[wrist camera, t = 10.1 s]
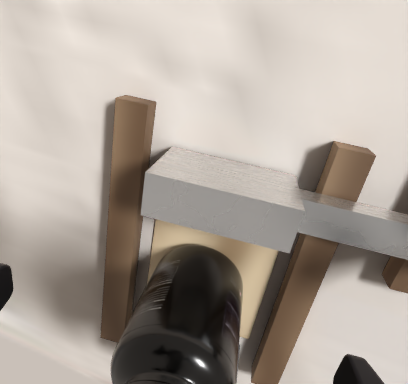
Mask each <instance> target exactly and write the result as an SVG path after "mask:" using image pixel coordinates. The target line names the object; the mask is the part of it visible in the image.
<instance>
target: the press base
mask: <svg viewBox="0 0 408 384" xmlns="http://www.w3.org/2000/svg"><path fill="white" fill-rule="evenodd" d="M155 108H156V102H155V101H150V100H146V99H141V98H137V97H132V96H128V95H124V96H121V97H117V98H116V99H115V115H114V131H113V147H112V163H111V179H110V195H109V211H108V227H107V243H106V259H105V275H104V291H103V307H102V323H101V338H104V339H107V340H111V341H114V342H117V343H118V342H119V340H120V338H121V336H122V334H123V332H124V330H125V328H126V326H127V324H128V322H129V320H130V318H131V316H132V307H133V299H134V290H135V281H136V273H137V264H138V255H139V247H140V238H141V229H142V221H143V216H142V215H141V206H142V198H143V189H144V180H145V172H146V171H147V170H148V169H149V160H150V151H151V143H152V134H153V126H154V117H155ZM375 157H376V155H375V154H373V153H372V152H371V151H370V150H369V149H367V148H363V147H358V146H354V145H349V144H345V143H340V142H336V141H334V142H333V144H332V147H331V150H330V153H329V155H328V158H327V161H326V164H325V166H324V169H323V172H322V175H321V177H320V180H319V183H318V186H317V188H316V191H315V193H319V194H324V195H328V196H332V197H336V198H340V199H345V200H349V201H353V202H356V201H357V199H358V197H359V194H360V192H361V190H362V187H363V185H364V183H365V180H366V178H367V176H368V173H369V171H370V169H371V166H372V164H373V162H374V159H375ZM186 245H202V246H207V247H210V248H213V249H215V250H217V251H219V252H221V253H223V254H224V255H225V256H227V257H228V258H229V259H230V260H231V261H232V262H233V263H234V264H235V266H236V267H237V269H238V270H239V273H240V275H241V278H242V282H243V300H242V313H241V325H240V337H243V338H246V339H249V337H250V334H251V331H252V328H253V325H254V322H255V319H256V316H257V313H258V310H259V307H260V304H261V301H262V298H263V296H264V293H265V290H266V287H267V284H268V281H269V278H270V275H271V272H272V269H273V266H274V263H275V260H276V257H277V254H278V250H274V249H270V248H266V247H262V246H258V245H254V244H251V243H247V242H243V241H239V240H235V239H231V238H227V237H223V236H219V235H216V234H212V233H208V232H204V231H200V230H196V229H192V228H188V227H184V226H181V225H177V224H173V223H169V222H165V221H161V220H157V219H156V221H155V229H154V236H153V243H152V251H151V258H150V265H149V273H148V280H147V284H148V282H149V280H150V278H151V276H152V274H153V272H154V270H155V268H156V266H157V265H158V263H159V261H160V260H161V259H162V258H163V256H165V255H166V254H167V253H168V252H170V251H171V250H173V249H175V248H178V247H181V246H186ZM337 246H338V242H334V241H330V240H326V239H322V238H318V237H314V236H310V235H306V234H302V233H300V235H299V238H298V241H297V243H296V246H295V249H294V252H293V255H292V257H291V260H290V263H289V266H288V268H287V271H286V274H285V277H284V279H283V282H282V285H281V288H280V290H279V293H278V296H277V299H276V301H275V304H274V307H273V310H272V312H271V315H270V318H269V321H268V323H267V326H266V329H265V332H264V334H263V337H262V340H261V343H260V345H259V348H258V351H257V354H256V356H255V359H254V362H253V365H252V374H251V383H255V384H278V383H279V380H280V378H281V376H282V374H283V371H284V369H285V367H286V364H287V362H288V360H289V357H290V355H291V353H292V350H293V348H294V346H295V343H296V341H297V339H298V336H299V334H300V332H301V329H302V327H303V325H304V322H305V320H306V318H307V315H308V313H309V311H310V308H311V306H312V304H313V301H314V299H315V297H316V294H317V292H318V290H319V287H320V285H321V283H322V280H323V278H324V276H325V273H326V271H327V269H328V267H329V264H330V262H331V260H332V257H333V255H334V253H335V250H336V248H337ZM382 276H383V278H384V279H385V281H386V283H387V285H388V287H389V289H393V290H397V291H401V292H404V293H408V260H406V259H402V258H398V257H394V256H391V257H390V259H389V261H388V263H387V265H386V266H385V268H384V270H383V272H382ZM239 350H240V345H239ZM238 361H239V351H238ZM237 371H238V363H237ZM236 382H237V376H236Z"/></svg>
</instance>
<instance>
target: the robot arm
mask: <svg viewBox="0 0 408 384" xmlns="http://www.w3.org/2000/svg"><path fill="white" fill-rule="evenodd" d="M12 292H13V281H12V272H11V268H10V266H9V265H7V264H3V263H0V311H1V309H2V308H3V307H4V305H5V304H6V302H7V301H8V300H9V298H10V297H11V295H12ZM333 384H384V382H383V381H382V380H381V379H380V377H379V376H378V375H377V374H376V372H375V371H374V370H373V369H372V367H371V366H370V365H369V364H368V362H367V361H366V360H365V359H363V358H361V357H357V356H354V355H350V354H347V355H345V356H344V358H343V360H342V362H341V363H340V365H339V367H338V369H337V371H336V373H335V375H334V380H333Z"/></svg>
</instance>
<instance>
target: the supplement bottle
mask: <svg viewBox="0 0 408 384" xmlns="http://www.w3.org/2000/svg"><path fill="white" fill-rule="evenodd" d="M242 300H243V282H242V278H241V275H240V273H239V270H238V269H237V267H236V266H235V264H234V263H233V262H232V261H231V260H230V259H229V258H228V257H227V256H225V255H224V254H223V253H221V252H219V251H217V250H215V249H213V248H210V247H207V246H202V245H186V246H181V247H178V248H175V249H173V250H171V251H170V252H168V253H167V254H166V255H165V256H163V258H162V259H161V260H160V261H159V263H158V265H157V266H156V268H155V270H154V272H153V274H152V276H151V278H150V280H149V282H148V284H147V286H146V288H145V290H144V292H143V294H142V296H141V298H140V300H139V302H138V304H137V306H136V308H135V310H134V312H133V314H132V316H131V318H130V320H129V322H128V324H127V326H126V328H125V330H124V332H123V334H122V336H121V338H120V340H119V342H118V344H117V346H116V348H115V351H114V353H113V356H112V360H111V378H112V383H113V384H236V376H237V363H238V351H239V338H240V325H241V313H242Z"/></svg>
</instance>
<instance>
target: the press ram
mask: <svg viewBox="0 0 408 384" xmlns="http://www.w3.org/2000/svg"><path fill="white" fill-rule="evenodd" d="M141 215H142V216H146V217H149V218H153V219H157V220H161V221H165V222H169V223H173V224H177V225H181V226H184V227H188V228H192V229H196V230H200V231H204V232H208V233H212V234H216V235H219V236H223V237H227V238H231V239H235V240H239V241H243V242H247V243H251V244H254V245H258V246H262V247H266V248H270V249H274V250H278V251H282V252H286V253H289V254H290V251H291V248H292V245H293V243H294V240H295V237H296V234H297V232H298V233H302V234H306V235H310V236H314V237H318V238H322V239H326V240H330V241H334V242H338V243H342V244H346V245H350V246H354V247H358V248H362V249H366V250H370V251H374V252H378V253H382V254H386V255H390V256H394V257H398V258H402V259H406V260H408V214H404V213H399V212H395V211H391V210H387V209H383V208H378V207H374V206H370V205H366V204H361V203H357V202H353V201H349V200H345V199H340V198H336V197H332V196H328V195H324V194H319V193H315V192H311V191H307V190H302V189H299V185H298V181H297V177H296V175H292V174H288V173H283V172H279V171H275V170H270V169H266V168H262V167H258V166H253V165H249V164H245V163H240V162H236V161H232V160H228V159H223V158H219V157H215V156H211V155H206V154H202V153H198V152H193V151H189V150H185V149H181V148H176V147H172V148H170V149H169V150H168V151H167V152H166V153H165V154H164V155H163V156H162V157H161V158H160V159H159V160H158V161H157V162H156V163H154V164H153V165H152V166H151V167H150V168H149V169H148V170H147V171H146V172H145V180H144V189H143V198H142V206H141Z"/></svg>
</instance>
